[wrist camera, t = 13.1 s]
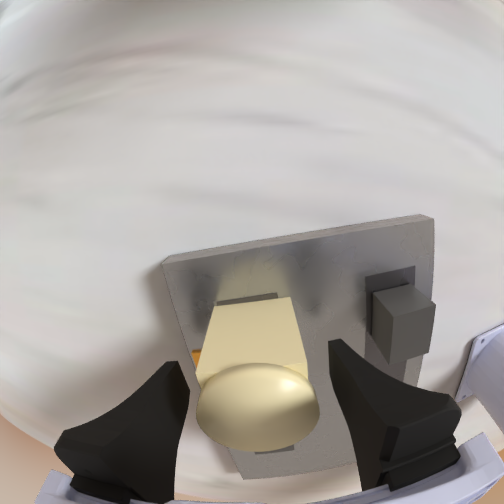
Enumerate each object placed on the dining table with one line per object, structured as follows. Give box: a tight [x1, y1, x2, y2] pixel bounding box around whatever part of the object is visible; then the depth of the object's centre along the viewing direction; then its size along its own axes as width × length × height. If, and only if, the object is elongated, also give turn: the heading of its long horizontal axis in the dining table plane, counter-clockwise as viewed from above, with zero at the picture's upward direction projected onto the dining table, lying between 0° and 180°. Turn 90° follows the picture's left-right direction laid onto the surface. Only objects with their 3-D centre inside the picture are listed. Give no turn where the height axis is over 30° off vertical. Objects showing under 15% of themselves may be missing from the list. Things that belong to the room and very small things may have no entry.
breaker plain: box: [372, 284, 436, 365], centre depth 13 cm, size 2×3×3 cm
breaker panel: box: [162, 214, 434, 480], centre depth 17 cm, size 15×22×2 cm
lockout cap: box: [195, 297, 320, 452], centre depth 12 cm, size 5×5×6 cm
